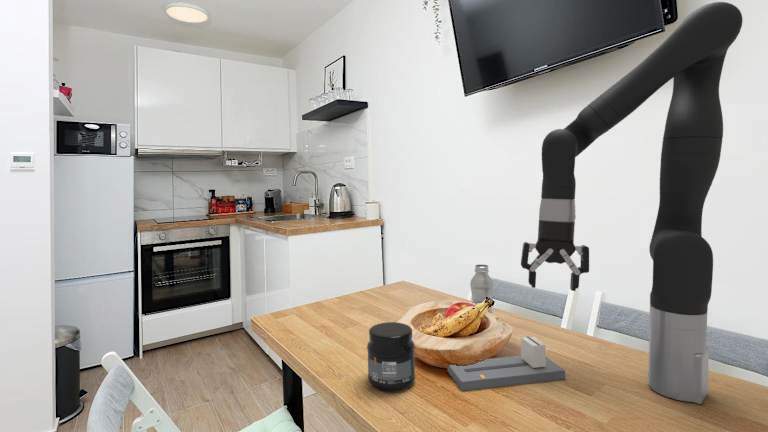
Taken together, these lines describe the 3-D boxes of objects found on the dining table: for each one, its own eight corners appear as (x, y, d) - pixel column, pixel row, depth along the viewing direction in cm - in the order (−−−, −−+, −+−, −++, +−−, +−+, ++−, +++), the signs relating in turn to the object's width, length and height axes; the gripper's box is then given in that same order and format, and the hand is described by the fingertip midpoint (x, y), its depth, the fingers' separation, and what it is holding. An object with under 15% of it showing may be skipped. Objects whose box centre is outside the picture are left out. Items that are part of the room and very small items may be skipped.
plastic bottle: (495, 337, 108) (494, 268, 107) (470, 335, 109) (470, 267, 108) (493, 329, 114) (492, 263, 113) (470, 328, 116) (469, 263, 114)
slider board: (541, 361, 92) (541, 352, 92) (565, 379, 83) (565, 369, 83) (447, 371, 88) (447, 362, 88) (461, 391, 79) (461, 381, 79)
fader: (532, 357, 89) (533, 336, 89) (545, 366, 85) (545, 344, 84) (521, 358, 89) (521, 337, 89) (533, 367, 84) (533, 345, 84)
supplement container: (398, 366, 91) (397, 318, 90) (425, 385, 82) (424, 331, 81) (359, 378, 86) (358, 327, 85) (383, 400, 77) (382, 342, 76)
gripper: (586, 219, 88) (582, 287, 89) (522, 216, 92) (518, 282, 93) (595, 221, 81) (590, 295, 82) (525, 218, 85) (521, 289, 86)
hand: (552, 288), depth 88 cm, fingers open, 8 cm apart
